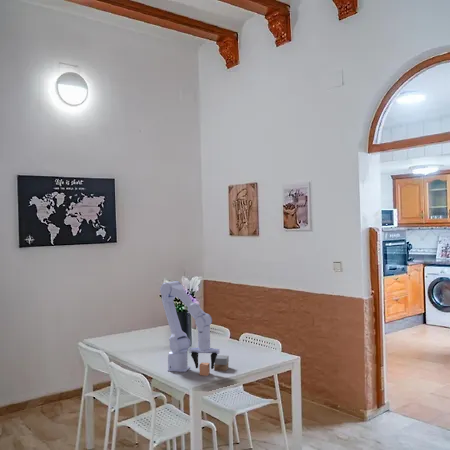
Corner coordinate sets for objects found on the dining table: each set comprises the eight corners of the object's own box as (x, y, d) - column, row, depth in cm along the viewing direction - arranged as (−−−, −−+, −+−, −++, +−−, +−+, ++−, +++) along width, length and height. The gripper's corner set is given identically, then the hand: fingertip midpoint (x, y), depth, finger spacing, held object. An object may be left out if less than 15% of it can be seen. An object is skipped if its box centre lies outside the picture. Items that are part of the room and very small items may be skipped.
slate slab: (214, 364, 241) (214, 358, 241) (216, 361, 246) (216, 355, 246) (226, 364, 239) (226, 358, 240) (228, 361, 245) (228, 355, 245)
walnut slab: (214, 370, 240) (214, 364, 240) (216, 367, 246) (216, 361, 246) (226, 371, 239) (226, 365, 239) (228, 367, 245) (228, 361, 245)
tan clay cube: (199, 375, 233) (199, 364, 233) (201, 372, 237) (201, 362, 237) (207, 375, 232) (207, 365, 232) (209, 373, 236) (209, 362, 236)
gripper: (187, 341, 232) (187, 369, 232) (216, 342, 229) (217, 371, 229) (191, 338, 239) (191, 365, 239) (220, 338, 236) (220, 366, 236)
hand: (204, 368), depth 234 cm, fingers open, 7 cm apart
